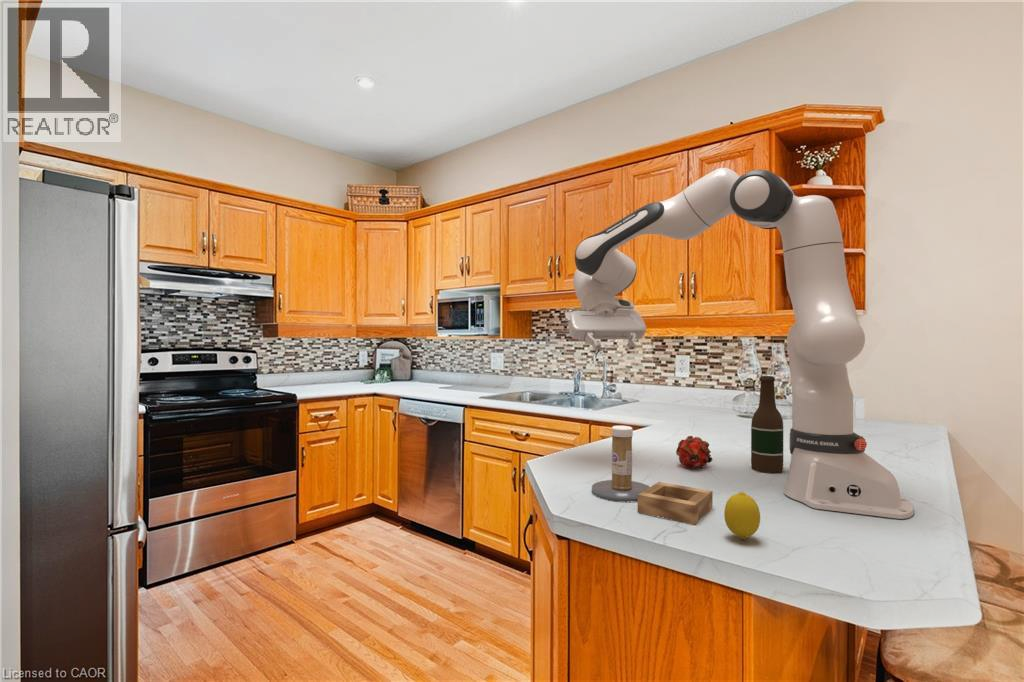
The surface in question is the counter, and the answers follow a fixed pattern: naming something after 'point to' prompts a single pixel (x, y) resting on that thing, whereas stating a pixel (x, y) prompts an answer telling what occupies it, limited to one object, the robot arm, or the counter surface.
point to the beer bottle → (767, 431)
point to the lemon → (742, 515)
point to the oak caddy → (675, 502)
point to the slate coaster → (618, 491)
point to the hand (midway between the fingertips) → (615, 348)
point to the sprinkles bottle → (622, 457)
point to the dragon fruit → (693, 452)
